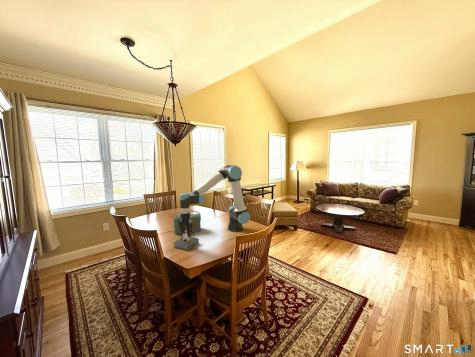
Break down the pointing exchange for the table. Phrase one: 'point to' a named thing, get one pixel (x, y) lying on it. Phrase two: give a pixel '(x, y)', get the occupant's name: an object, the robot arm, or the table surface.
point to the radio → (193, 217)
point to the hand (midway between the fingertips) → (186, 240)
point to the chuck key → (185, 235)
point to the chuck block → (186, 243)
